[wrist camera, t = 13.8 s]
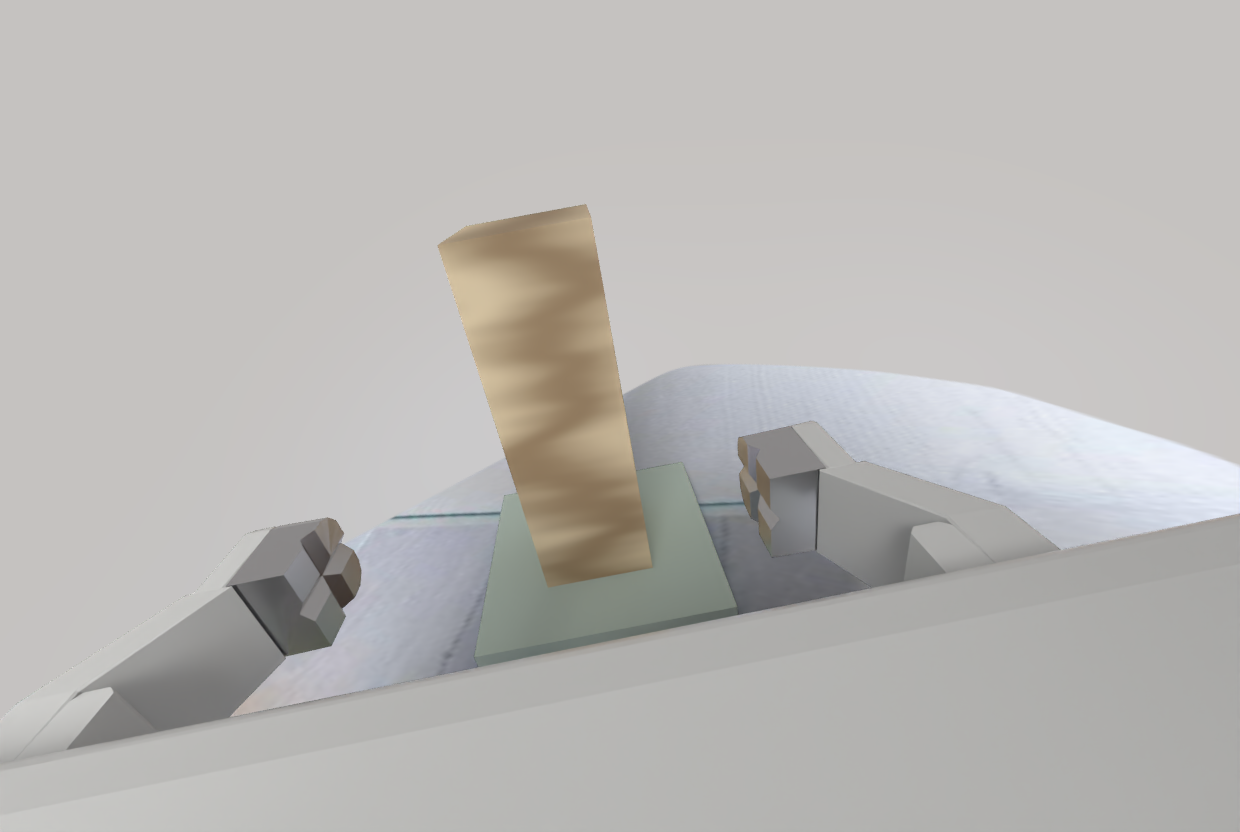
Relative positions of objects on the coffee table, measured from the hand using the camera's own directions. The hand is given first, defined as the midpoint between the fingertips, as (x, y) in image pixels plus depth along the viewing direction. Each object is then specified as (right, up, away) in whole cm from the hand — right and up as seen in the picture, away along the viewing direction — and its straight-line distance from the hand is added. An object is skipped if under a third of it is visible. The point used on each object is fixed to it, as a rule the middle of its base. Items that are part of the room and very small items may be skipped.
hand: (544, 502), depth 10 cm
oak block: (0, -4, +13) cm, 13 cm away
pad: (+1, -5, +13) cm, 14 cm away
